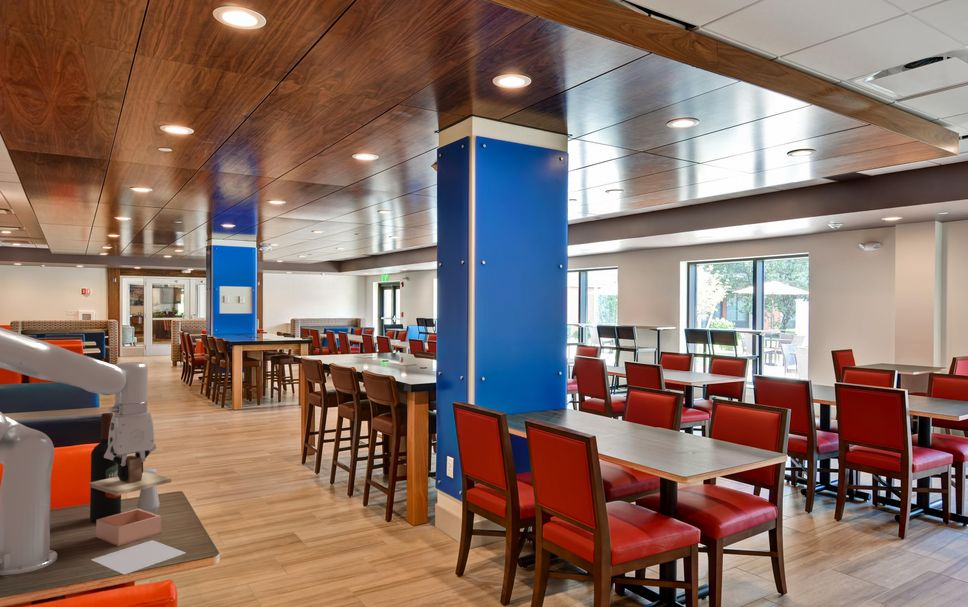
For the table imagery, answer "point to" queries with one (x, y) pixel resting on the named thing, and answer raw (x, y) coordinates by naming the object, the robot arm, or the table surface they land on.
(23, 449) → the robot arm
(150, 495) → the salt shaker
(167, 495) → the table surface
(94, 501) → the wine bottle
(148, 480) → the lid
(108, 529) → the pink open box
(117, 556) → the mat
